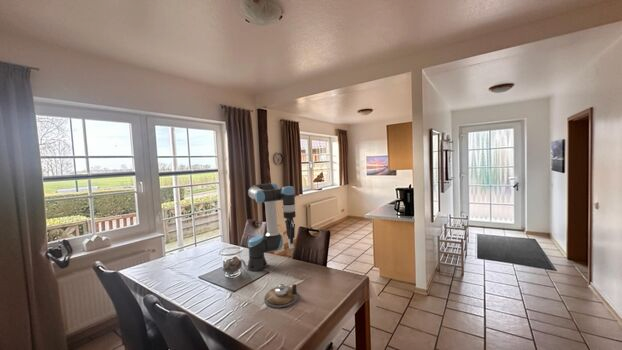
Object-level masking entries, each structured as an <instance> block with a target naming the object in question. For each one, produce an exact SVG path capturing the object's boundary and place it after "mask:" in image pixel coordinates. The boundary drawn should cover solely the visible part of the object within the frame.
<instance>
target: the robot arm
mask: <svg viewBox="0 0 622 350" xmlns="http://www.w3.org/2000/svg"><path fill="white" fill-rule="evenodd" d="M247 195H248V197H249V198H251V199H252V200H255V202H256V204H257V203H260V204H262V203H264V206H265V211H264V212H265V219H266V220H265V222H266V223H265V224H266V233H265V235H264V236H262V235H257V236H256V235H255V236H253V237H251V238H250V239H248V241H247V242H248V244H247V247H248V262H247V270H248V271H250V272H259V271H262V270H265V269H266V268H267V267H268V262H267V260H266V257H265V254H266V253H271V252H277V251H280V250H281V249H283V245H284V239H283V235H282V234H281V232H279V228H278V216H277V204H276V203H277V202H278V201H282V209H283V211H282V213H283V219H285V220H284V221H285V222H284V223H285V229H286V230H285V231H286V236H287V239H288V249H290V250H291V249H294V248H295V246H294V245H295V244H294V243H295V242H294V239H295V236H296V235H295V232H296V230H295V229H296V228H295V227H296V223H295V221H294V218H296V217H297V215H296V200H295V197H296V196H295V195H296V194H295V187H294V186H291V185H288V186H283V187H280V188H279V187H278V184H277V183H275V182H274V183H273V182H269V183H260V184H259V183H258V184H254V185H252V186H250V187H249V189H248V190H247Z"/></svg>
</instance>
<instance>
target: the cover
mask: <svg viewBox="0 0 622 350" xmlns="http://www.w3.org/2000/svg"><path fill="white" fill-rule="evenodd" d="M288 287H289V286H288ZM288 287H287V285H286V284H285V285H284V284H282V283H280V284H278V286H277V285H276V287H274V288H275V296H277V297H285V296H287V295H288Z"/></svg>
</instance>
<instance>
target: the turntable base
mask: <svg viewBox="0 0 622 350" xmlns="http://www.w3.org/2000/svg"><path fill="white" fill-rule="evenodd" d="M263 300H264V304H265V305H266V306H267V307H269V308H272V309H283V308H289V307H291V306H293V305H294V304H296V303H297V302H298V300H299V294H298V292H297V296H296V298H295V299H294V300H293V301H292V302H290V303H287V304H283V305H273V304H270V303H268V302H267V300H266V295H265V296H264V298H263Z"/></svg>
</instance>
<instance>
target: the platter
mask: <svg viewBox="0 0 622 350" xmlns="http://www.w3.org/2000/svg"><path fill="white" fill-rule="evenodd" d="M286 286H287V285H286ZM287 287H288V295H287V296H285V297H277V296H275V288H276V287H273V288H271V289H270V290H268V291H267V292H266V293H265V296H266V300H267V302H268V303H270V304H273V305H283V304H287V303H290V302H292V301H293V300H294V299H295V298H296V296H297V293H298V292H297V284H294V283H293V284H292V285H291V286H287Z"/></svg>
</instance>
